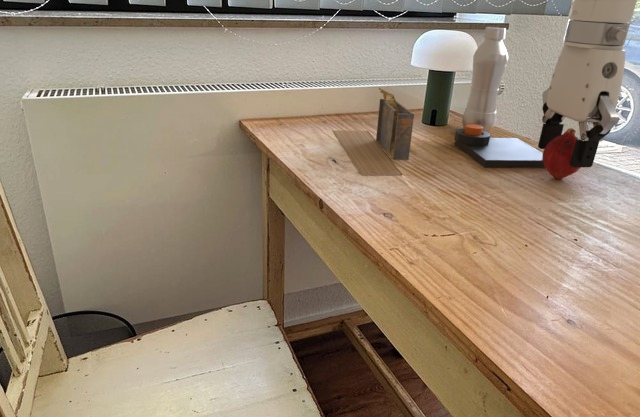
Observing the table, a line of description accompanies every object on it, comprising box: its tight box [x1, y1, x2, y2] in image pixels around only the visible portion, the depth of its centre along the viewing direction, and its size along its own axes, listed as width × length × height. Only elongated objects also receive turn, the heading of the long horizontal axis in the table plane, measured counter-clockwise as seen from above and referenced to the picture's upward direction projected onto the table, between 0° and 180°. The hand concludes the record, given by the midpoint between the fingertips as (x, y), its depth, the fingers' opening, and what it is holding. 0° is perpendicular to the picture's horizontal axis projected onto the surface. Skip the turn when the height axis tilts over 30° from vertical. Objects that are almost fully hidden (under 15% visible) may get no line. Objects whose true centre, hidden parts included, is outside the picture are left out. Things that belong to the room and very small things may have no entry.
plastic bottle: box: [461, 26, 509, 134], centre depth 95 cm, size 6×7×20 cm
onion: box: [542, 127, 582, 180], centre depth 74 cm, size 6×6×8 cm
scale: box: [453, 127, 546, 169], centre depth 85 cm, size 13×14×3 cm
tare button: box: [464, 124, 483, 136], centre depth 87 cm, size 3×3×2 cm
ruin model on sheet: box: [332, 87, 415, 176], centre depth 84 cm, size 25×16×10 cm, turn 8°
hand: (563, 156), depth 75 cm, fingers open, 8 cm apart
